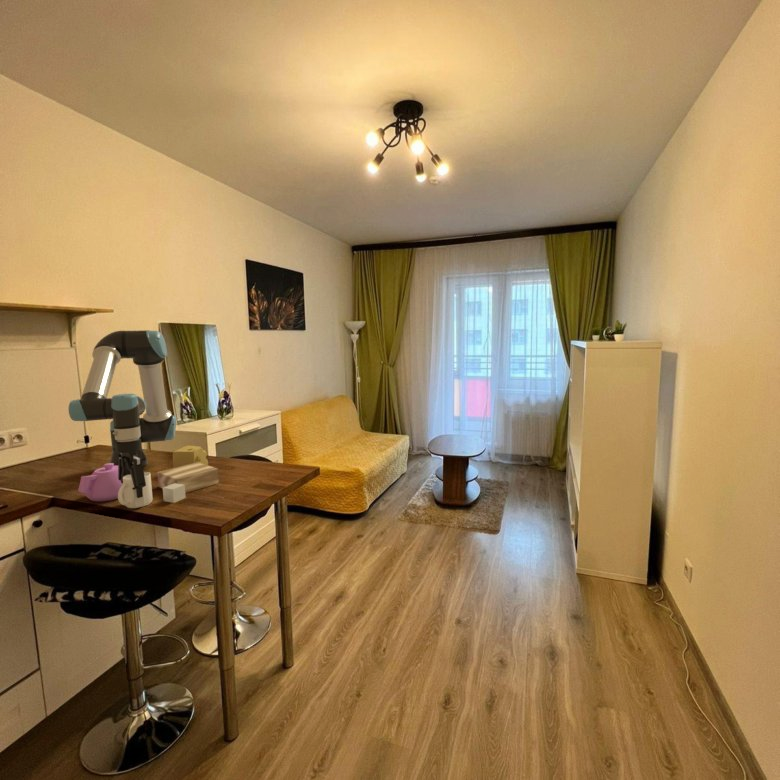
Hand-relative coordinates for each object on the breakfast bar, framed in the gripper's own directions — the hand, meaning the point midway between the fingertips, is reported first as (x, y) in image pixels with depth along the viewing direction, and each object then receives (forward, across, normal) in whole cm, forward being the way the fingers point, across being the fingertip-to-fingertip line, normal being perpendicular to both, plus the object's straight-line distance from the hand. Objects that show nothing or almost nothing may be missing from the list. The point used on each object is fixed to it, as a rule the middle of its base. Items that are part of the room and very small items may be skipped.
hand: (133, 503), depth 142 cm
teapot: (+1, -19, 0) cm, 19 cm away
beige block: (+1, +6, +11) cm, 13 cm away
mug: (+1, +1, 0) cm, 1 cm away
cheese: (+1, -24, +33) cm, 41 cm away
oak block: (+1, -5, +22) cm, 23 cm away
